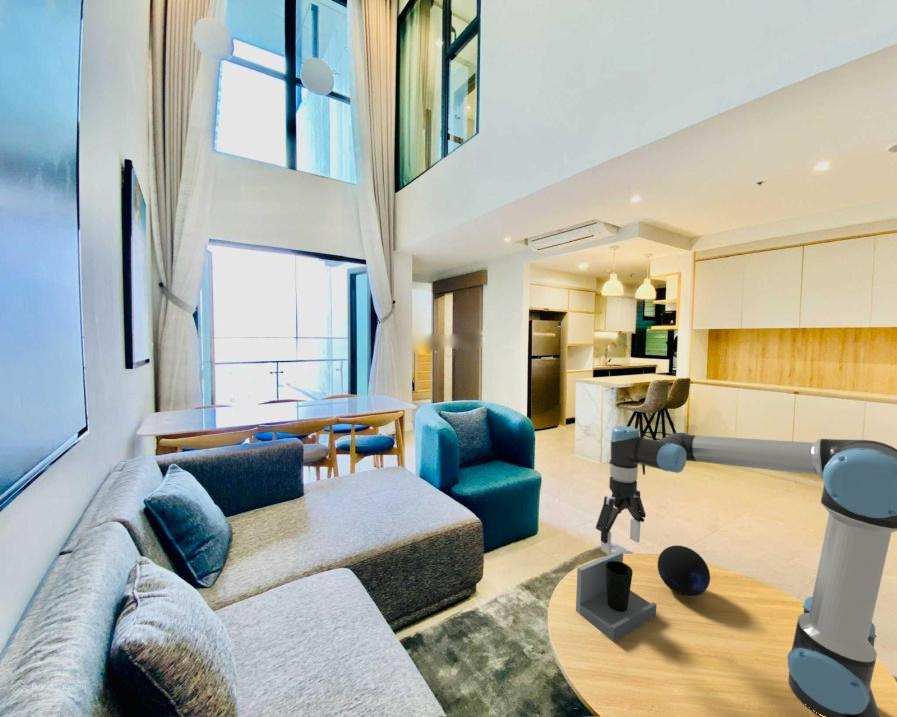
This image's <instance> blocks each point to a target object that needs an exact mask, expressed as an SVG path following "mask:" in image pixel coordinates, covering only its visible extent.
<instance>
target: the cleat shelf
mask: <svg viewBox="0 0 897 717" xmlns="http://www.w3.org/2000/svg"><path fill="white" fill-rule="evenodd" d="M609 561H619V562H622V563H624V562H623V561H624V552H622V551H621V550H617V551H615V552H612V553H611V554H610V555H608V554H606V555H605V556H603V557H600V558H598V559H596V560H593V561H591V562H589V563H588V562H587V563H586V564H583V565H581V566H579V567H577V574H576V594H575V596H576V599H575V601H576V602H575V611H576V612H577V613H578V614H579V615H580V616H582V618H584V619H585V620H587V621H588V622H589V623H590V624H591V625H592V626H594V627H595V628H596V629H597V630H599V632H601V633H602V634H603V635H604V636H606V637H607V638H609V640H611V641H612V642H615V641H617V640H619V639H620V638H622V637H624V636H625V635H627V634H628V633H631V632H632V631H634V630H636V629H637V628H640V627H641V626H642V624H643V625H644V624H646V623H648V622H649V621H651V620H653V619H655V618H656V617H657V603H655V602H654V601H653V602H649V601H648V600H646V599H644V598H643V597H642V596H640V595H639V594H637V593H635V592H634V591H632V590H631V589H630V594H629V600H628V607H627V610H626V611H625V612H618V611H615V610H613V609H611V608H610V607H609V605H608V601H607V585H606V569H605V564H606V563H607V562H609ZM647 621H648V622H647ZM645 622H646V623H645ZM640 625H641V626H640Z"/></svg>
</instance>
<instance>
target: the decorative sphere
mask: <svg viewBox="0 0 897 717" xmlns="http://www.w3.org/2000/svg"><path fill="white" fill-rule="evenodd" d="M657 570H658V574H659V576H660V579H661V580H662V582H664V584H665V585H666V586H667V587H668V589H670V590H671V591H673V592H674V593H676V594H678V595H681V596H684V597H697V596H700V595H702V594H703V593H704V592H705V591H707V589H708V587H709V586H710V583H711V574H710V570H709V567H708V564H707V563H706V561H705V559H703V557H702V556H701V555H700V554H699V553H697V552H696V551H695V550H693V549H692V548H690V547H687V546H683V545H672V546H668V547H666V548H664V549H663V550H662V551H661V553H660V554H659V556H658V559H657Z"/></svg>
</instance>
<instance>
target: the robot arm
mask: <svg viewBox="0 0 897 717" xmlns="http://www.w3.org/2000/svg"><path fill="white" fill-rule="evenodd" d="M687 462H697V463H705V464H715V465H725V466H734V467H741V468H742V467H743V468H751V469H761V470H768V471H779V472H786V473H796V474H807V475H814V476H817V477H819V478H820V479H821V480H823V487H822V494H821V498H820V499H821V500H820V503H821V505H822V507H823V508H824V509H825V510H826V511H827V512H828V517H827V522H826V528H825V533H824V536H823V543H822V548H821V553H820V557H819V562H818V566H817V573H816V578H815V582H814V587H813V592H812V593H813V594H812V596H809V597H806V598H805V599H804V604H803V605H802V608H803V613H801V614H799V615H798V617H797V623H796V626H795V633H794V638H793V642H792V646H791V650H790V651H789V652H788V654H787V668H788V678H787V679H788V680H787V681H788V685H789V687H790V689H791V692H793V694H794V695H795V696H796V698H799V699H800V700H801V701H802V702H803V703H804V704H803V703H802V702H801V701H800V700H799V699H798V700H799V701H800V702H801V703H802V704H803V705H805V704H806V705H807V706H808V707H810V708H811V709H812V710H814V711H815V712H817V713H819V714H821V715H823V716H826V717H881V716H880V711H879V708H878V705H877V702H876V700H875V697H874V693H873V691H872V687H871V684H872V679H873V675H874V669H875V665H876V661H877V655H878V654H877V651H876V649H875V642H876V640H875V639H876V638H877V634H876V626H875V625H874V623H873V618H874V613H875V608H876V604H877V600H878V595H879V590H880V587H881V586H880V585H881V582H882V578H883V572H884V567H885V564H886V559H887V555H888V550H889V545H890V541H891V536H892V533H894V532H897V448H895V447H893V446H892V445H889V444H887V443H884V442H882V441H881V442H880V441H876V440H869V439H835V438H834V439H833V438H832V439H831V438H829V439H828V438H820V439H818V440H816V441H815V442H808V441H805V442H804V441H792V440H775V439H759V438H744V437H743V438H741V437H729V436H728V437H727V436H710V435H709V436H708V435H693V434H689V433H687V432H681V431H680V432H674V433H671V434H670V435H668V436H665V437H663V438H660V439H658V440H655V439H650V438H645V437H641V436H640V431H639V429H637V428H634V427H632V426H626V425H624V426H622V425H618V426H615V427H613V428H612V429H611V439H610V463H609V464H610V467H609V476H610V477H609V482H608V483H609V484H608V485H609V489H610V491H611V493H612V494H611V496H610V497H609V496H608V495H606V496H604V497H603V498H604V499H603V505H602V507H601V511H600V513H599V516H598V520H597V522H596V526H595V529H596V530H598V531H600V551H602V552H603V553H605V554H606V555H610V554H612V553H611V552H612V551H611V550H612V532H611V529H612V527H613V525H614V523H615V521H616V519H617V518H618V515H619V514H621V513H622V511H624V510H625V509H626V510H627V511H628V512H629V514H630V515H631V517H632V518H630V528H629V530H630V532H629V539H630V540H631V541H633V542H635V543H637V544H639V543H640V533H641V523H644V522H645V518H646V517H647V516H646V512H645V508H644V505H643V501H642V499H641V491H640V490H637V489H638V481H637V480H638V470H639V469H638V468H639V467H638V466H639V465H638V464H640V465H644V466H648V467H652V468H655V469H659V470H662V471H664V472H670V473H675V474H677V473H682V471H683V470H684V468H685V467H686V463H687ZM806 705H805V706H806ZM807 706H806V707H807ZM808 707H807V708H808ZM811 709H810V710H811ZM812 710H811V711H812ZM815 712H814V713H815Z"/></svg>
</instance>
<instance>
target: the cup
mask: <svg viewBox="0 0 897 717" xmlns="http://www.w3.org/2000/svg"><path fill="white" fill-rule="evenodd" d="M605 569H606V585H607V601H608V605H609V607H610V608H611V609H613V610H615V611H618V612H625V611H626V610H627V607H628V600H629V594H630V590H631V587H632V586H631V585H632V579H633V572H634V571H633V569H632V567H631V566H629V565H628V564H626V563H625V562H623V563H622V562H619V561H609V562H607V563H606V564H605Z"/></svg>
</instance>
